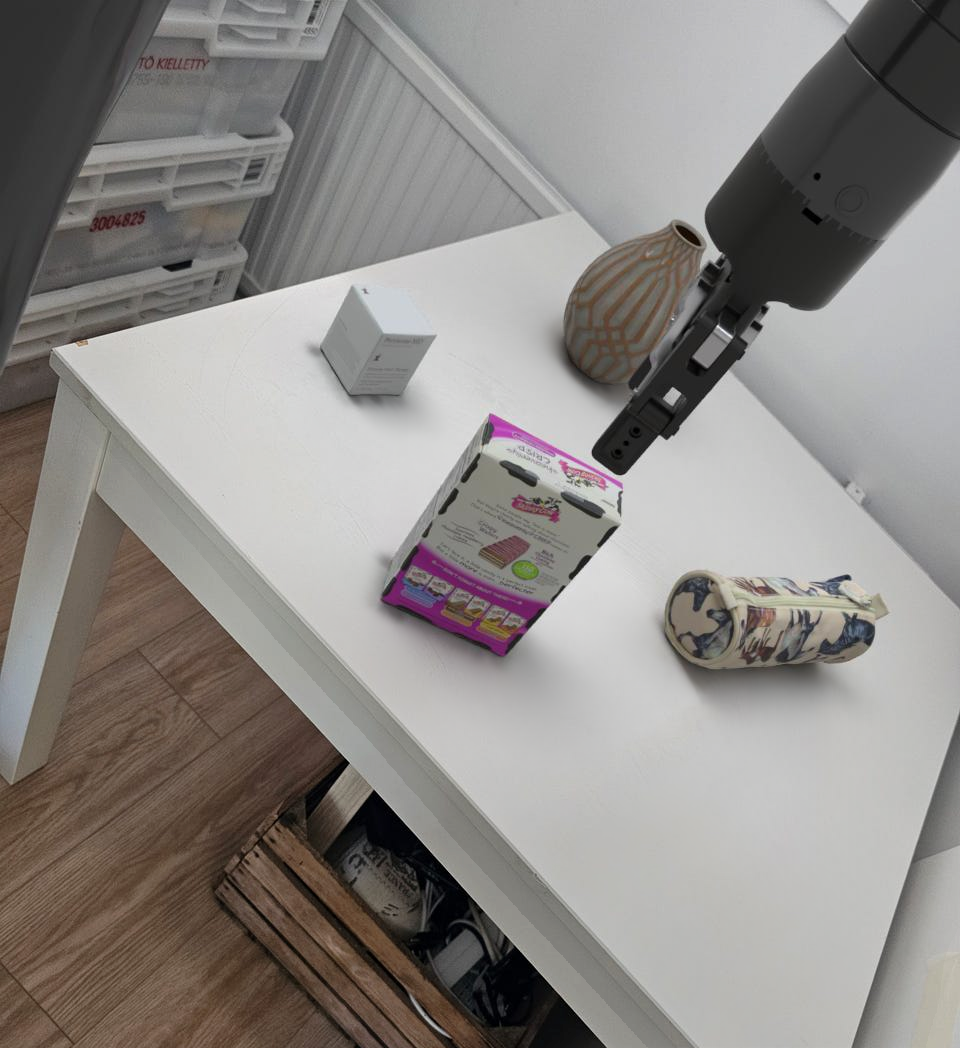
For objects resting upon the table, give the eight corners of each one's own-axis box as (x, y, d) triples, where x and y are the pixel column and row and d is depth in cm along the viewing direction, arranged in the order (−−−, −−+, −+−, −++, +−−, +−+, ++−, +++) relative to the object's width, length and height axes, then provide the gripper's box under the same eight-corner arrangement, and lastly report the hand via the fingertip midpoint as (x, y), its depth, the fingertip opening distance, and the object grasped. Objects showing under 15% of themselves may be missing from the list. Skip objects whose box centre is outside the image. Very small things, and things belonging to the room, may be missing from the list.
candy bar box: (511, 615, 85) (627, 482, 73) (504, 660, 81) (625, 527, 70) (388, 555, 81) (490, 407, 70) (376, 599, 78) (481, 451, 67)
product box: (347, 396, 90) (382, 333, 85) (317, 346, 92) (350, 281, 87) (402, 396, 94) (439, 335, 89) (372, 347, 96) (407, 285, 91)
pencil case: (792, 612, 106) (861, 553, 100) (832, 682, 102) (907, 626, 96) (637, 609, 94) (705, 541, 87) (676, 689, 90) (750, 625, 83)
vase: (527, 349, 110) (622, 211, 98) (562, 305, 120) (652, 175, 108) (625, 423, 111) (730, 296, 100) (652, 374, 121) (750, 253, 109)
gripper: (784, 91, 52) (601, 337, 63) (743, 167, 41) (532, 446, 52) (900, 185, 52) (699, 411, 63) (888, 283, 42) (651, 533, 53)
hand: (624, 427), depth 58 cm, fingers open, 8 cm apart
